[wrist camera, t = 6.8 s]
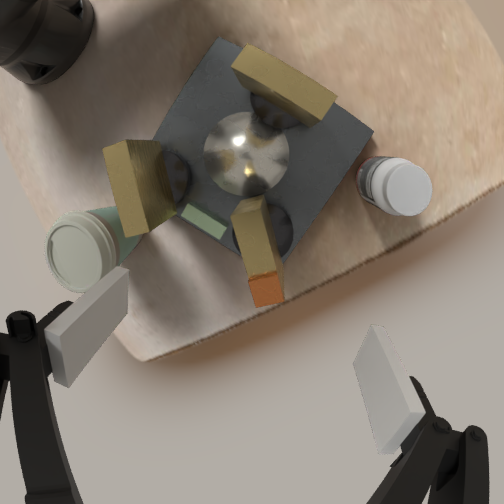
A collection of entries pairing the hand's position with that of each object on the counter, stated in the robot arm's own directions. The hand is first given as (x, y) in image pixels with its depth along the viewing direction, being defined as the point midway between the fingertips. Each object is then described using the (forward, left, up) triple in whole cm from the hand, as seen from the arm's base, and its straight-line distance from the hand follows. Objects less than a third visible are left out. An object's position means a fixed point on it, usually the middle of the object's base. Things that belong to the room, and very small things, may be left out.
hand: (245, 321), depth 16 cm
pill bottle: (+8, +12, -22) cm, 26 cm away
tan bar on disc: (0, 0, -20) cm, 20 cm away
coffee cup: (-15, -10, -22) cm, 28 cm away
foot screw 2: (-6, +13, -20) cm, 25 cm away
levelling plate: (-6, +6, -22) cm, 23 cm away
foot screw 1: (-12, -1, -20) cm, 23 cm away
